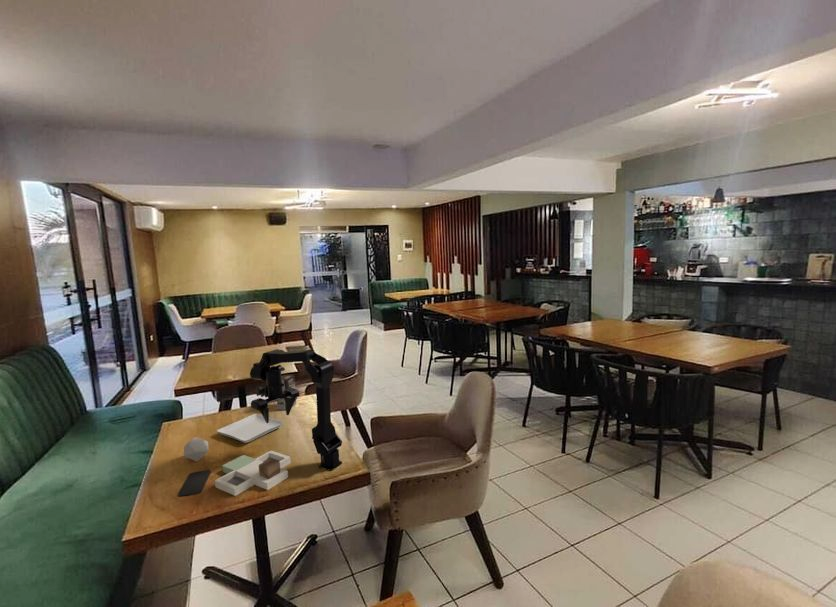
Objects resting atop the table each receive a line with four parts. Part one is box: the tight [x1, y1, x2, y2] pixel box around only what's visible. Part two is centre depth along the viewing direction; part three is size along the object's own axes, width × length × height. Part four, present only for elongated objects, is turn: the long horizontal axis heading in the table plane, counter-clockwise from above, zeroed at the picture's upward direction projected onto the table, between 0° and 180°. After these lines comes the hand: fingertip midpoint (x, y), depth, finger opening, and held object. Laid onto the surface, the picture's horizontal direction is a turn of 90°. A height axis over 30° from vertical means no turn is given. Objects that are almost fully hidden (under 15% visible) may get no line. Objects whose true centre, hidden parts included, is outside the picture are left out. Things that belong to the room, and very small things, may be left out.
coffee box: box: [276, 374, 297, 411], centre depth 214 cm, size 9×6×16 cm
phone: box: [177, 469, 211, 498], centre depth 145 cm, size 7×1×15 cm
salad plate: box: [216, 413, 284, 444], centre depth 185 cm, size 21×21×3 cm
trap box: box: [214, 450, 292, 497], centre depth 149 cm, size 25×24×2 cm
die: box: [183, 436, 209, 462], centre depth 162 cm, size 8×9×10 cm
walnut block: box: [259, 459, 280, 479], centre depth 144 cm, size 5×5×4 cm
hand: (277, 418), depth 164 cm, fingers open, 9 cm apart
